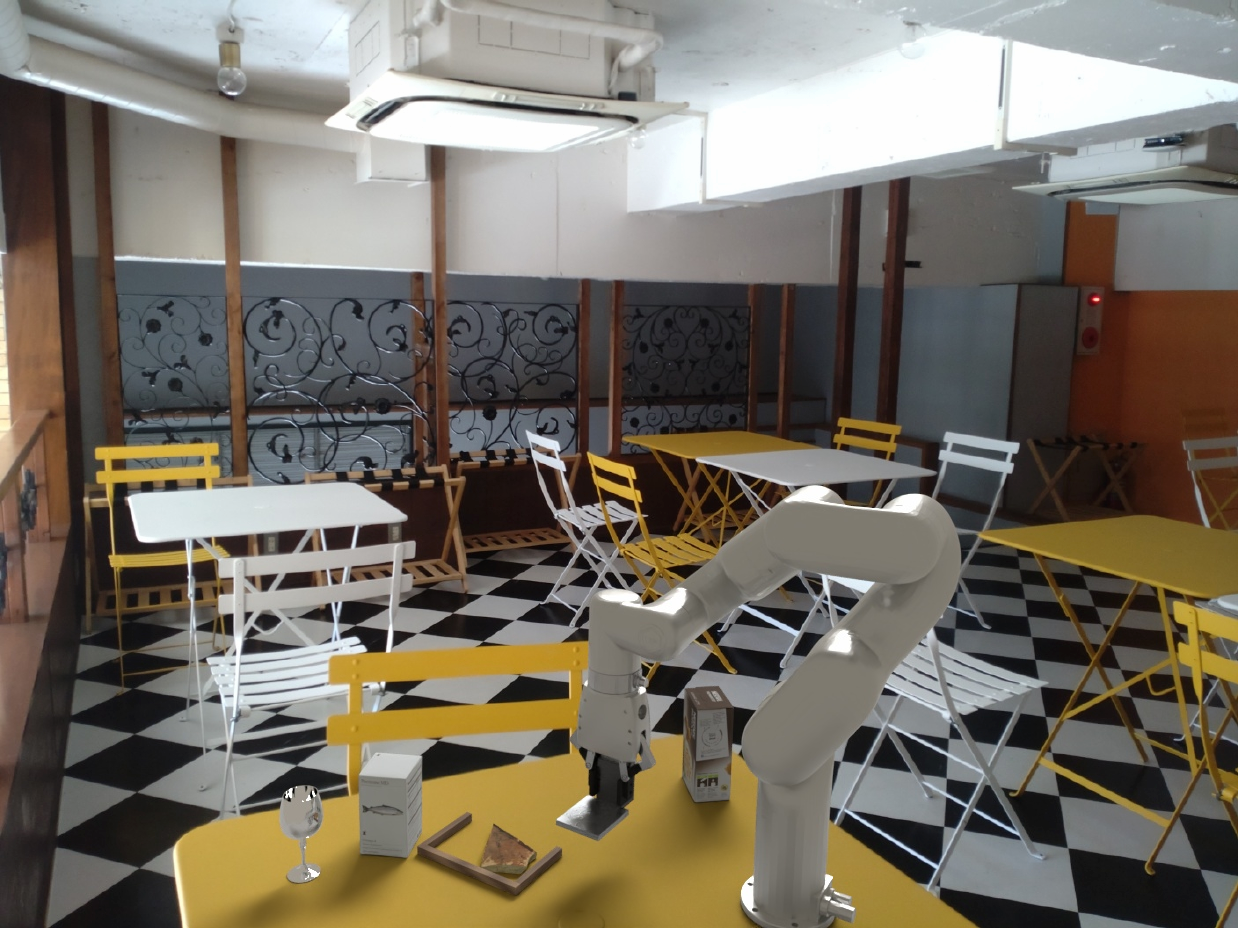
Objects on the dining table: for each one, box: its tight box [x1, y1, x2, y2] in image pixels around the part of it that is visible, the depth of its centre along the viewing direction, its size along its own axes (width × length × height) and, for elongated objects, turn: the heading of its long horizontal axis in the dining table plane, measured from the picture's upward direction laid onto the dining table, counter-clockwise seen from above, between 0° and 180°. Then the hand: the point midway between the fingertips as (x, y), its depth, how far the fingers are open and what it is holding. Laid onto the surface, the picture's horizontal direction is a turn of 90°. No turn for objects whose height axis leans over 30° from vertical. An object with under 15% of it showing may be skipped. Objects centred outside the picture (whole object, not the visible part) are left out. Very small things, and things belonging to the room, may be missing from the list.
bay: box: [416, 811, 563, 897], centre depth 134 cm, size 18×11×1 cm, turn 59°
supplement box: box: [358, 752, 423, 859], centre depth 136 cm, size 7×7×13 cm
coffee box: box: [681, 685, 735, 803], centre depth 153 cm, size 9×6×16 cm
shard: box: [480, 823, 538, 875], centre depth 135 cm, size 11×8×2 cm
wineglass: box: [278, 785, 324, 884], centre depth 128 cm, size 6×6×12 cm
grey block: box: [555, 755, 636, 842], centre depth 131 cm, size 12×7×7 cm, turn 149°
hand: (610, 795), depth 133 cm, fingers closed on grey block, 4 cm apart
